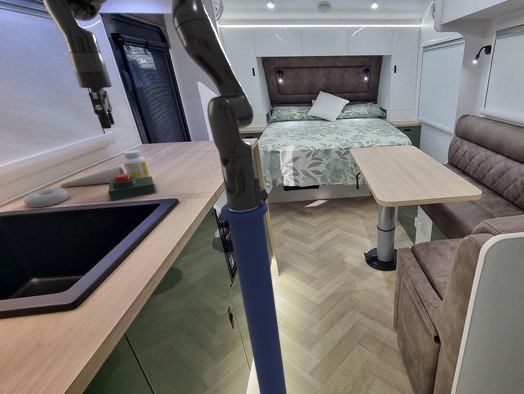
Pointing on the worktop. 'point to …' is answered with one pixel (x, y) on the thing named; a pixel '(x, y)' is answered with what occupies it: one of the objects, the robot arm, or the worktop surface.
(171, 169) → the worktop surface
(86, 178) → the long tapered cone
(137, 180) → the control block
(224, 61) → the robot arm
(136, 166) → the pill bottle
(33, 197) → the donut
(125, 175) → the button
